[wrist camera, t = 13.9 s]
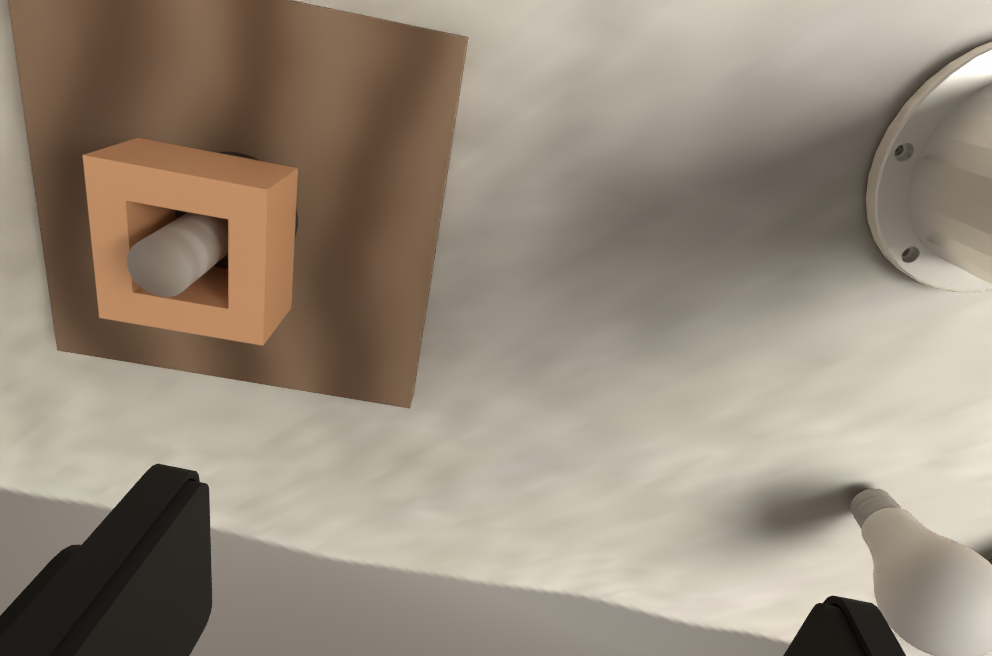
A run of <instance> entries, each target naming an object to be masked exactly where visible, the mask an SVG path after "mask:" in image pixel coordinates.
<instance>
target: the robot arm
mask: <svg viewBox="0 0 992 656" xmlns="http://www.w3.org/2000/svg"><path fill="white" fill-rule="evenodd" d="M897 148H898V150H897V151H896V152H895V150H896V149H897ZM866 208H867V219H868V223H869V226H870V229H871V232H872V235H873V238H874V241H875V242H876V244H877V246H878V247H879V249H880V250H881V252H882V253H883V255H884V256H885V257H886V258H887V259H888V260H889V261H890V262H891V263H892V264H893V265H894V266H895V267H896V268H897V269H898V270H900V271H902V272H903V273H905V274H907V275H908V276H910V277H911V278H913V279H914V280H916V281H918V282H921V283H923V284H925V285H928V286H930V287H933V288H936V289H942V290H947V291H952V292H981V291H987V290H992V42H989V43H986V44H984V45H981V46H979V47H976V48H974V49H973V50H971V51H969V52H967V53H966V54H964V55H962V56H961V57H959V58H957V59H955V60H954V61H952V62H950V63H949V64H947V65H946V66H945V67H944V68H942V69H941V70H940V71H939V72H937V73H936V74H935V75H934V76H932V77H931V78H930V79H929V80H927V81H926V82H925V83H924V84H923V85H922V86H921V87H920V88H919V89H918V90H917V91H916V92H915V93H914V95H913V96H912V97H911V98H910V99H909V100H908V101H907V102H906V103H905V104H904V106H903V107H902V108H901V110H900V111H899V113H898V114H897V115H896V117H895V118H894V120H893V121H892V123H891V124H890V125H889V127H888V129H887V131H886V133H885V135H884V137H883V139H882V141H881V143H880V145H879V147H878V149H877V151H876V153H875V156H874V160H873V163H872V166H871V169H870V173H869V176H868V184H867V193H866ZM211 579H212V578H211V544H210V505H209V486H208V485H207V484H206V483H201V482H200V480H199V475H198V473H197V472H196V471H192V470H187V469H182V468H177V467H172V466H167V465H162V464H156V465H153V466H152V467H151V468H150V469H149V470H147V472H146V473H145V474H144V475H143V476H142V477H141V478H140V479H139V481H138V482H137V483H136V484H135V485H134V486H133V487H132V489H131V490H130V491H129V492H128V493H127V494H126V495H125V496H124V498H123V499H122V500H121V501H120V502H119V503H118V504H117V506H116V507H115V508H114V509H113V510H112V511H111V512H110V513H109V515H108V516H107V517H106V518H105V519H104V520H103V521H102V523H101V524H100V525H99V526H98V527H97V528H96V529H95V530H94V532H93V533H92V534H91V535H90V536H89V537H88V539H87V540H86V541H85V542H84V543H83V544H82V545H71V546H69V547H67V548H65V549H63V550H62V551H61V552H60V553H58V554H57V555H56V556H55V557H54V558H53V559H52V560H51V561H50V562H49V563H48V564H47V565H46V566H45V568H44V569H43V570H42V571H41V572H40V573H39V574H38V575H37V576H36V577H35V578H34V579H33V581H32V582H31V583H30V584H29V585H28V586H27V587H26V588H25V589H24V590H23V592H22V593H21V594H20V595H19V596H18V597H17V598H16V599H15V600H14V601H13V602H12V604H11V605H10V606H9V607H8V608H7V609H6V610H5V611H4V612H3V613H2V615H1V616H0V656H189V655H190V654H191V652H192V650H193V648H194V646H195V645H196V643H197V641H198V639H199V638H200V636H201V634H202V632H203V630H204V628H205V626H206V624H207V622H208V619H209V616H210V613H211V608H212V580H211ZM784 656H906V655H905V653H904V651H903V650H902V648H901V646H900V644H899V643H898V641H897V639H896V637H895V636H894V634H893V632H892V630H891V628H890V627H889V625H888V623H887V621H886V620H885V618H884V616H883V614H882V613H881V612H880V610H879V609H878V607H876V606H875V605H874V604H872V603H868V602H863V601H858V600H853V599H848V598H843V597H838V596H830V597H828V598H827V599H826V600H825V601H824V602H823V604H822V603H818V604H816V605H815V606H814V607H813V609H812V610H811V612H810V613H809V615H808V617H807V618H806V620H805V622H804V623H803V625H802V626H801V628H800V630H799V631H798V633H797V635H796V636H795V638H794V639H793V641H792V643H791V644H790V646H789V648H788V649H787V651H786V652H785V654H784Z"/></svg>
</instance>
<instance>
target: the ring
mask: <svg viewBox="0 0 992 656" xmlns="http://www.w3.org/2000/svg"><path fill="white" fill-rule="evenodd" d="M83 164H84V174H85V184H86V193H87V203H88V213H89V223H90V232H91V242H92V252H93V262H94V271H95V281H96V291H97V301H98V310H99V318H103V319H109V320H115V321H121V322H127V323H133V324H139V325H145V326H150V327H156V328H162V329H168V330H174V331H180V332H186V333H192V334H198V335H203V336H209V337H215V338H221V339H227V340H233V341H239V342H245V343H251V344H256V345H262V346H263V345H264V344H265V342H266V341H267V340H268V338H269V337H270V336H271V334H272V333H273V332H274V330H275V329H276V328H277V326H278V325H279V324H280V322H281V321H282V320H283V318H284V317H285V316H286V314H287V313H288V312H289V310H290V309H291V303H292V283H293V262H294V241H295V221H296V200H297V179H298V168H294V167H289V166H284V165H279V164H273V163H268V162H263V161H258V160H252V159H247V158H242V157H237V156H231V155H226V154H221V153H216V152H210V151H205V150H200V149H195V148H189V147H184V146H179V145H174V144H168V143H163V142H158V141H153V140H147V139H142V138H136V139H132V140H129V141H126V142H123V143H120V144H116V145H113V146H110V147H107V148H104V149H100V150H97V151H94V152H91V153H88V154H84V155H83ZM175 210H180V211H185V212H191V213H196V214H202V215H207V216H213V217H218V218H224V219H228V269H225V268H220V267H214V266H213V267H212V268H210V269H209V270H208V271H207V272H206V273H204V274H203V275H202V276H201V277H200V278H198V279H197V280H196V281H195V282H194V283H192V284H191V285H190V286H189V287H188V288H186V289H185V290H184V291H183V292H182V293H180V294H178V295H176V296H172V297H160V296H156V295H153V294H151V293H148V292H147V291H145V290H144V289H142V288H141V287H140V286H139V285H138V284H137V283H136V282H135V281H134V280H133V278H132V276H131V275H130V272H129V270H128V266H127V257H128V253H129V251H130V249H131V248H132V246H134V245H135V244H136V243H138V242H139V241H141V240H142V239H144V238H146V237H147V236H149V235H151V234H153V233H154V232H156V231H158V230H159V229H161V228H163V227H164V226H166V225H168V224H169V223H171V222H173V221H174V220H176V212H175Z"/></svg>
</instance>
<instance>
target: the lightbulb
mask: <svg viewBox="0 0 992 656" xmlns="http://www.w3.org/2000/svg"><path fill="white" fill-rule="evenodd" d="M850 510H851V512H852V514H853V516H854V518H855V519H856V521H857V523H858V524H859V526H860V528H861V529H862V530H861V531H862V536H863V539H864V541H865V542H866V544H867V546H868V547H869V550H870V552H871V555H872V558H873V563H874V571H873V579H874V593H875V598H876V601H877V604H878V607H879V609H880V612H881V613H882V614H883V616H884V618H885V620H886V621H887V623H888V624H889V625H890V626H891V628H892V629H893V630H894V631H895V632H896V633H897V634H898V635H899V636H900V637H901V638H903V639H904V640H905V641H906V642H908V643H909V644H911V645H912V646H914V647H915V648H917V649H919V650H921V651H923V652H926V653H928V654H931V655H934V656H983V655H985V654H988V653H989V652H991V651H992V564H991V563H990V562H989V561H987V560H986V559H985V558H983V557H982V556H981V555H979V554H978V553H977V552H975V551H974V550H973V549H971V548H969V547H966V546H964V545H962V544H960V543H958V542H955V541H953V540H951V539H949V538H946V537H943V536H941V535H938V534H936V533H934V532H932V531H931V530H929V529H927V528H926V527H925V526H923V525H922V524H921V523H920V522H919V521H918V520H917V519H916V518H915V517H914V516H913V515H912V514H911V513H909V512H908V511H906V510H904V509H902V508H901V507H900V506H899V505H898V504H897V503H896V501H895V500H894V499H892V498H891V496H890V495H889V494H888V493H887V492H885V491H883V490H880V489H867V490H864V491H862V492H860V493H858V494H857V495H856V496H855V497H854V498H853V499H852V502H851V505H850Z"/></svg>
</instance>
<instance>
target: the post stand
mask: <svg viewBox="0 0 992 656" xmlns="http://www.w3.org/2000/svg"><path fill="white" fill-rule="evenodd" d="M8 2H9V9H10V16H11V23H12V30H13V37H14V44H15V52H16V59H17V66H18V73H19V80H20V87H21V94H22V102H23V109H24V116H25V123H26V130H27V137H28V144H29V152H30V159H31V166H32V173H33V180H34V187H35V194H36V201H37V209H38V216H39V223H40V230H41V237H42V244H43V251H44V259H45V266H46V273H47V280H48V287H49V294H50V301H51V309H52V316H53V323H54V330H55V337H56V344H57V350H59V351H65V352H71V353H77V354H83V355H89V356H95V357H101V358H107V359H113V360H119V361H125V362H132V363H138V364H144V365H150V366H156V367H162V368H168V369H174V370H180V371H186V372H192V373H198V374H204V375H210V376H217V377H223V378H229V379H235V380H241V381H247V382H253V383H259V384H265V385H271V386H277V387H283V388H289V389H295V390H302V391H308V392H314V393H320V394H326V395H332V396H338V397H344V398H350V399H356V400H362V401H368V402H374V403H380V404H386V405H393V406H399V407H405V408H410V407H411V403H412V399H413V394H414V388H415V381H416V375H417V368H418V362H419V355H420V349H421V342H422V336H423V329H424V323H425V316H426V310H427V303H428V297H429V290H430V284H431V277H432V271H433V264H434V258H435V251H436V245H437V238H438V232H439V225H440V219H441V212H442V206H443V199H444V193H445V186H446V180H447V173H448V167H449V160H450V154H451V147H452V141H453V134H454V127H455V121H456V114H457V108H458V101H459V95H460V88H461V82H462V75H463V69H464V62H465V56H466V49H467V43H468V37H465V36H460V35H455V34H450V33H446V32H441V31H436V30H431V29H426V28H422V27H417V26H412V25H407V24H402V23H398V22H393V21H388V20H383V19H378V18H374V17H369V16H364V15H359V14H354V13H350V12H345V11H340V10H335V9H330V8H326V7H321V6H316V5H311V4H306V3H302V2H297V1H292V0H8ZM136 138H142V139H147V140H153V141H158V142H163V143H168V144H174V145H179V146H184V147H189V148H195V149H200V150H205V151H210V152H216V153H221V154H226V155H231V156H237V157H242V158H247V159H252V160H258V161H263V162H268V163H273V164H279V165H284V166H289V167H294V168H298V179H297V200H296V221H295V241H294V262H293V283H292V303H291V309H290V310H289V312H288V313H287V314H286V316H285V317H284V318H283V320H282V321H281V322H280V324H279V325H278V326H277V328H276V329H275V330H274V332H273V333H272V334H271V336H270V337H269V338H268V340H267V341H266V342H265V344H264V345H263V346H262V345H256V344H251V343H245V342H239V341H233V340H227V339H221V338H215V337H209V336H203V335H198V334H192V333H186V332H180V331H174V330H168V329H162V328H156V327H150V326H145V325H139V324H133V323H127V322H121V321H115V320H109V319H103V318H99V310H98V301H97V291H96V281H95V271H94V262H93V252H92V242H91V232H90V223H89V213H88V203H87V193H86V184H85V174H84V164H83V155H84V154H88V153H91V152H94V151H97V150H100V149H104V148H107V147H110V146H113V145H116V144H120V143H123V142H126V141H129V140H132V139H136ZM175 212H176V220H174V221H173V222H171V223H169V224H168V225H166V226H164V227H163V228H161V229H159V230H158V231H156V232H154V233H153V234H151V235H149V236H147V237H146V238H144V239H142V240H141V241H139V242H138V243H136V244H135V245H134V246H132V248H131V249H130V251H129V253H128V257H127V266H128V270H129V272H130V275H131V276H132V278H133V280H134V281H135V282H136V283H137V284H138V285H139V286H140V287H141V288H142V289H144V290H145V291H147V292H148V293H151V294H153V295H156V296H160V297H172V296H176V295H178V294H180V293H182V292H183V291H184V290H185V289H186V288H188V287H189V286H190V285H191V284H192V283H194V282H195V281H196V280H197V279H198V278H200V277H201V276H202V275H203V274H204V273H206V272H207V271H208V270H209V269H210V268H212V267H213V266H214V267H220V268H225V269H228V219H224V218H218V217H213V216H207V215H202V214H196V213H191V212H185V211H180V210H175Z"/></svg>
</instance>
